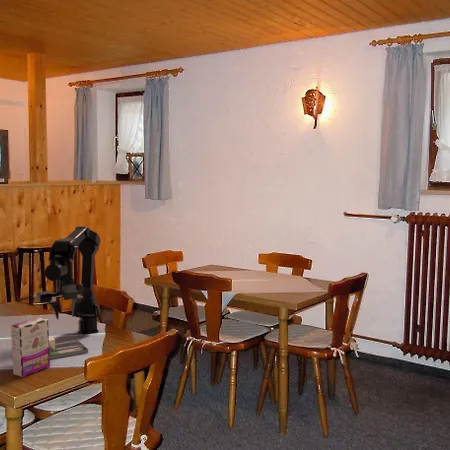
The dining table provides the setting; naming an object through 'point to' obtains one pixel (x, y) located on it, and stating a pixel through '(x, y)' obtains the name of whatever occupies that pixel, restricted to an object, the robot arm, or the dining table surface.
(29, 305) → the dining table surface
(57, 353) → the bench gauge
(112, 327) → the dining table surface
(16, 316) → the dining table surface
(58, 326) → the dining table surface
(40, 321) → the candy bar box
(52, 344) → the cube with stick handle
